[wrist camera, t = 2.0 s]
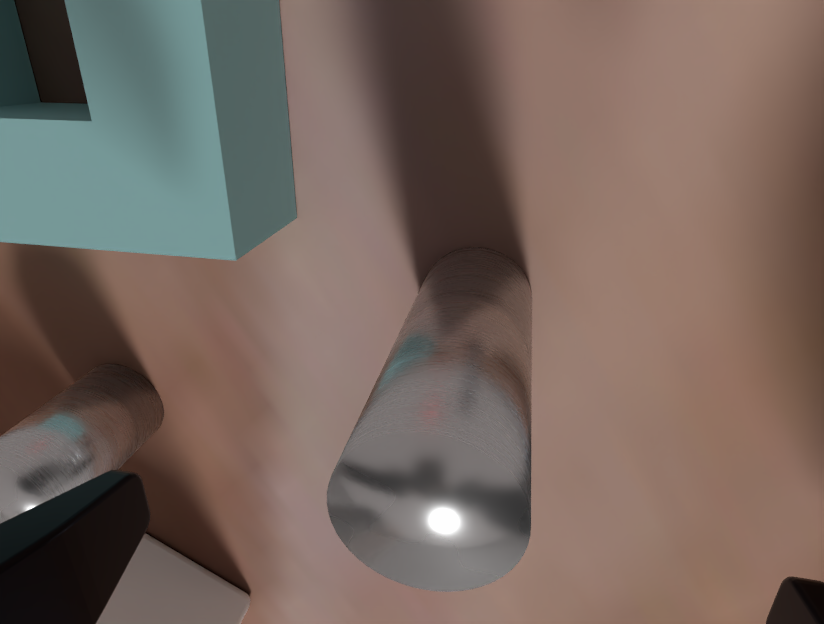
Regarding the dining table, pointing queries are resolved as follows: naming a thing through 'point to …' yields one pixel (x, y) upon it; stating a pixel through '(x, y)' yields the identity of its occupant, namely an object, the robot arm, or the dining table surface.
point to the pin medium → (446, 434)
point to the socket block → (151, 131)
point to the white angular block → (171, 591)
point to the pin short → (76, 437)
